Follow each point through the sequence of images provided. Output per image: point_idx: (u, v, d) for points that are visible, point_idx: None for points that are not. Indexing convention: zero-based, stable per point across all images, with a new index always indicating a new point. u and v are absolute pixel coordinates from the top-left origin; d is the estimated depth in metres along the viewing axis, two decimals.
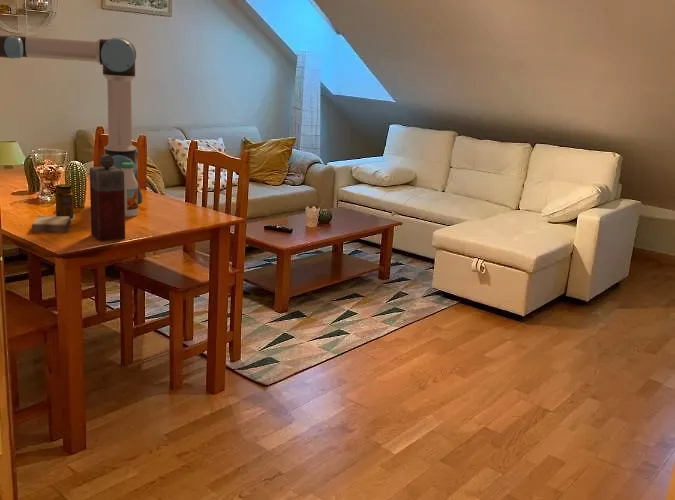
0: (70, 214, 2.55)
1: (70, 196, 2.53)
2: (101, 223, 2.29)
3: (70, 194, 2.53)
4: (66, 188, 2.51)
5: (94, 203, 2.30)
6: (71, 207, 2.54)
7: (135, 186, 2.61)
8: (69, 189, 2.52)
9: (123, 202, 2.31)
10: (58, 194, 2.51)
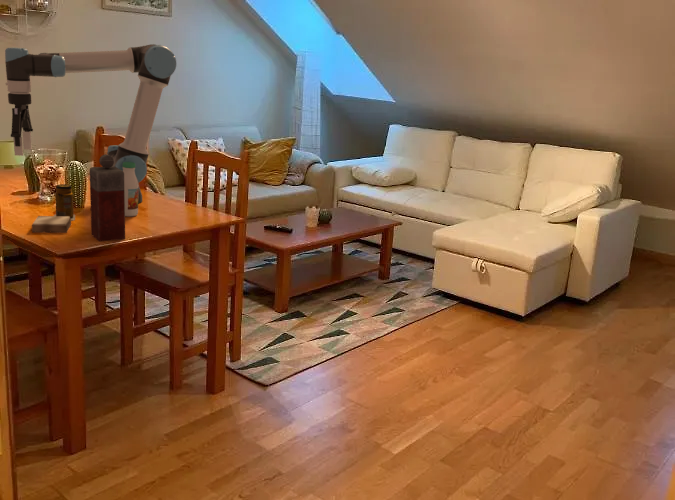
0: (70, 214, 2.55)
1: (70, 196, 2.53)
2: (101, 223, 2.29)
3: (70, 194, 2.53)
4: (66, 188, 2.51)
5: (94, 203, 2.30)
6: (71, 207, 2.54)
7: (136, 186, 2.62)
8: (69, 189, 2.52)
9: (123, 202, 2.31)
10: (58, 194, 2.51)
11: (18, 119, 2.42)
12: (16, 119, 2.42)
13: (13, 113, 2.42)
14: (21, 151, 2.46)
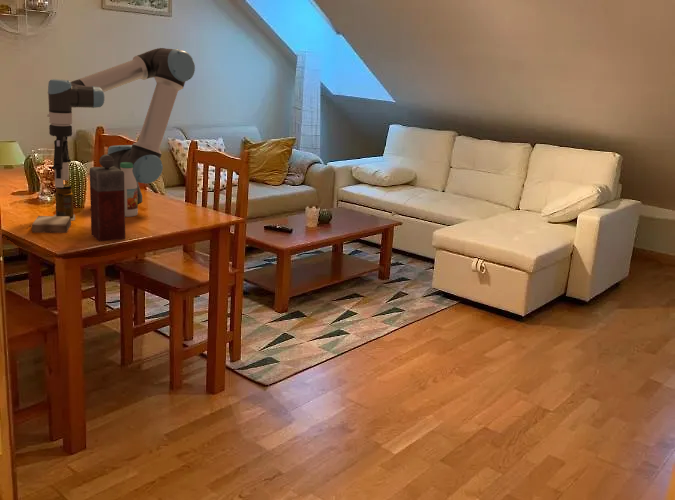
0: (70, 214, 2.55)
1: (70, 196, 2.53)
2: (101, 223, 2.29)
3: (70, 194, 2.53)
4: (66, 188, 2.51)
5: (94, 203, 2.30)
6: (71, 207, 2.54)
7: (135, 186, 2.62)
8: (69, 189, 2.52)
9: (123, 202, 2.31)
10: (58, 194, 2.51)
11: (60, 151, 2.41)
12: (58, 151, 2.41)
13: (55, 145, 2.41)
14: (62, 183, 2.45)
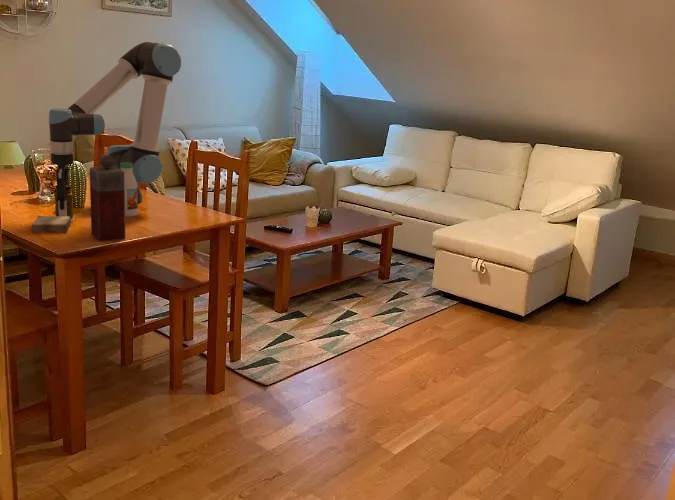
0: (69, 214, 2.54)
1: (69, 196, 2.52)
2: (101, 223, 2.29)
3: (69, 194, 2.52)
4: None
5: (94, 203, 2.30)
6: (70, 207, 2.54)
7: (135, 186, 2.62)
8: (68, 189, 2.51)
9: (123, 202, 2.31)
10: None
11: (62, 184, 2.46)
12: (61, 183, 2.46)
13: (57, 178, 2.45)
14: (65, 214, 2.52)
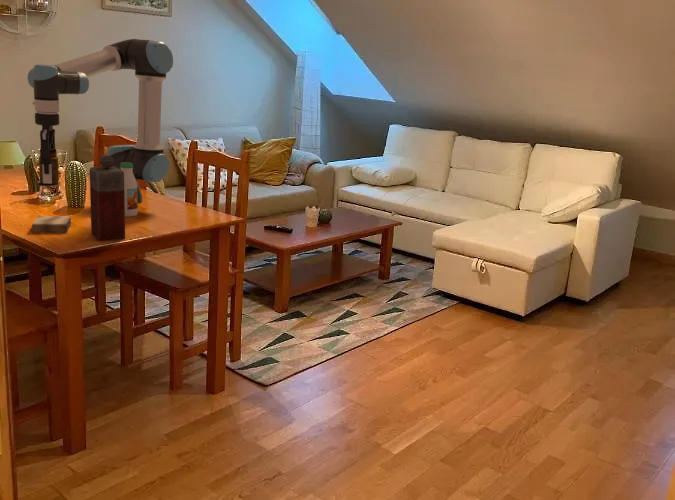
0: (55, 180, 2.35)
1: (55, 160, 2.34)
2: (101, 223, 2.29)
3: (55, 158, 2.34)
4: None
5: (94, 203, 2.30)
6: (56, 172, 2.35)
7: (135, 186, 2.62)
8: (54, 153, 2.33)
9: (123, 202, 2.31)
10: None
11: (47, 145, 2.28)
12: (45, 145, 2.27)
13: (41, 139, 2.27)
14: (50, 179, 2.33)
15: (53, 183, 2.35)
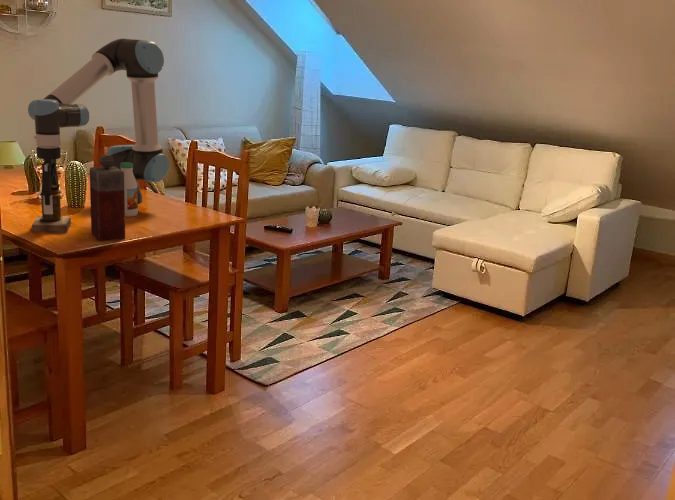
0: (57, 216, 2.38)
1: (57, 197, 2.37)
2: (101, 223, 2.29)
3: (57, 195, 2.37)
4: (53, 189, 2.35)
5: (94, 203, 2.30)
6: (58, 209, 2.38)
7: (135, 186, 2.62)
8: (56, 190, 2.36)
9: (123, 202, 2.31)
10: None
11: (48, 177, 2.29)
12: (46, 176, 2.29)
13: (43, 170, 2.28)
14: (51, 210, 2.33)
15: (56, 219, 2.38)
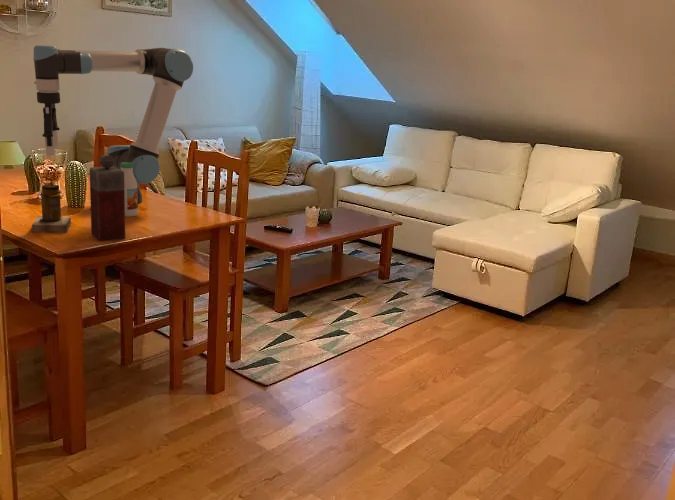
0: (57, 216, 2.38)
1: (57, 197, 2.37)
2: (101, 223, 2.29)
3: (57, 195, 2.37)
4: (53, 189, 2.35)
5: (94, 203, 2.30)
6: (58, 209, 2.38)
7: (135, 186, 2.62)
8: (56, 190, 2.36)
9: (123, 202, 2.31)
10: (44, 195, 2.35)
11: (50, 118, 2.38)
12: (48, 118, 2.38)
13: (44, 112, 2.38)
14: (53, 151, 2.42)
15: (56, 219, 2.38)
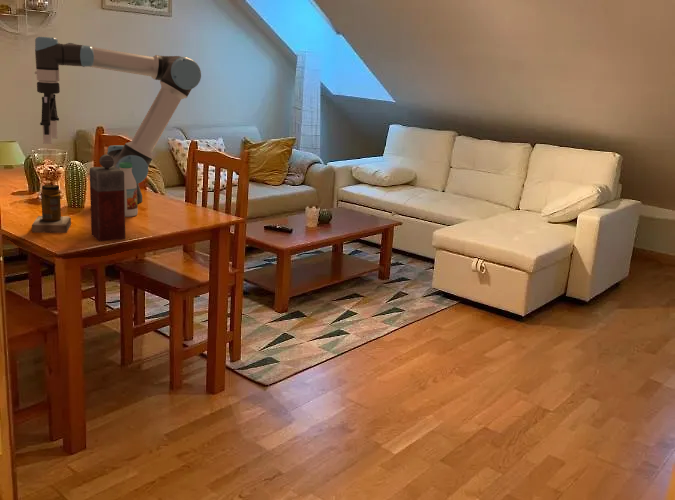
0: (57, 216, 2.38)
1: (57, 197, 2.37)
2: (101, 223, 2.29)
3: (57, 195, 2.37)
4: (53, 189, 2.35)
5: (94, 203, 2.30)
6: (58, 209, 2.38)
7: (134, 186, 2.62)
8: (56, 190, 2.36)
9: (123, 202, 2.31)
10: (44, 195, 2.35)
11: (48, 107, 2.44)
12: (46, 107, 2.44)
13: (43, 101, 2.44)
14: (50, 139, 2.48)
15: (56, 219, 2.38)
